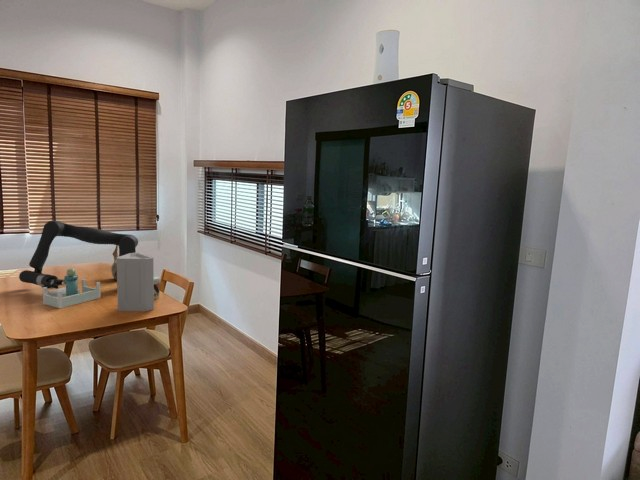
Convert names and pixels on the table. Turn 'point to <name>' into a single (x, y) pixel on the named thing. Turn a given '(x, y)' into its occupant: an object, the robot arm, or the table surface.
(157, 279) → the coffee cup
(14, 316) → the table surface
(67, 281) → the teal peg with ball
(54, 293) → the stone tile
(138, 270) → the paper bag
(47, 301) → the rectangular frame with posts
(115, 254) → the ceramic vessel
